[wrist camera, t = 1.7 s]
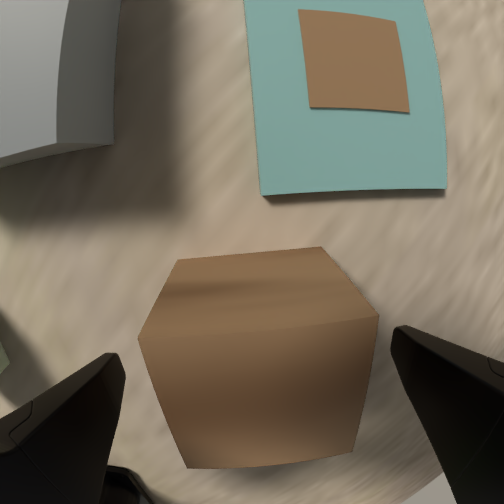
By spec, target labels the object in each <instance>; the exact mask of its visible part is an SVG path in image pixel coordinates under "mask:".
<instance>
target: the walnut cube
mask: <svg viewBox="0 0 504 504" xmlns="http://www.w3.org/2000/svg"><path fill="white" fill-rule="evenodd" d="M378 319H379V314H378V313H377V312H376V311H375V310H374V308H373V307H372V306H371V305H370V303H369V302H368V301H367V300H366V299H365V297H364V296H363V295H362V294H361V293H360V291H359V290H358V289H357V288H356V287H355V285H354V284H353V283H352V282H351V281H350V280H349V278H348V277H347V276H346V275H345V274H344V272H343V271H342V270H341V269H340V268H339V267H338V265H337V264H336V263H335V262H334V261H333V260H332V259H331V257H330V256H329V255H328V254H327V253H326V252H325V251H324V249H323V248H322V247H312V248H301V249H290V250H279V251H268V252H257V253H246V254H235V255H224V256H213V257H202V258H191V259H180V260H177V262H176V264H175V266H174V268H173V269H172V271H171V273H170V275H169V277H168V279H167V281H166V283H165V285H164V286H163V288H162V290H161V292H160V294H159V296H158V298H157V300H156V302H155V304H154V306H153V308H152V310H151V312H150V314H149V316H148V318H147V320H146V322H145V324H144V326H143V328H142V330H141V332H140V334H139V336H138V341H139V345H140V348H141V351H142V354H143V357H144V360H145V364H146V367H147V370H148V372H149V375H150V378H151V381H152V384H153V387H154V390H155V392H156V395H157V398H158V400H159V403H160V406H161V408H162V411H163V413H164V416H165V419H166V421H167V423H168V426H169V428H170V431H171V433H172V436H173V438H174V440H175V443H176V445H177V447H178V449H179V452H180V454H181V456H182V458H183V460H184V462H185V465H186V467H187V468H192V469H219V468H244V467H258V466H269V465H279V464H287V463H295V462H302V461H308V460H314V459H320V458H325V457H331V456H336V455H340V454H345V453H349V452H352V451H353V447H354V443H355V440H356V436H357V432H358V428H359V424H360V420H361V415H362V411H363V407H364V402H365V397H366V393H367V388H368V383H369V377H370V372H371V366H372V360H373V354H374V348H375V341H376V335H377V327H378Z"/></svg>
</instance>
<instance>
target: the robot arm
mask: <svg viewBox="0 0 504 504" xmlns="http://www.w3.org/2000/svg"><path fill="white" fill-rule="evenodd" d="M390 350H391V355H392V358H393V360H394V363H395V365H396V368H397V371H398V373H399V376H400V379H401V381H402V384H403V386H404V389H405V391H406V393H407V395H408V397H409V399H410V401H411V403H412V405H413V407H414V409H415V411H416V413H417V415H418V417H419V419H420V421H421V423H422V425H423V427H424V429H425V431H426V434H427V436H428V438H429V440H430V442H431V444H432V446H433V449H434V451H435V453H436V455H437V457H438V460H439V462H440V464H441V466H442V469H443V471H444V473H445V476H446V478H447V480H448V483H449V485H450V487H451V490H452V492H453V495H454V498H455V500H456V503H457V504H504V363H503V362H500V361H497V360H495V359H492V358H490V357H486V356H484V355H482V354H479V353H476V352H474V351H471V350H469V349H466V348H464V347H461V346H458V345H456V344H453V343H451V342H448V341H446V340H443V339H440V338H438V337H435V336H433V335H430V334H428V333H425V332H423V331H420V330H417V329H415V328H412V327H410V326H407V325H403V326H398V327H396V328H395V329H394V331H393V336H392V342H391V348H390ZM125 380H126V375H125V371H124V368H123V365H122V363H121V360H120V357H119V355H118V354H117V353H105V354H103V355H101V356H100V357H98V358H97V359H95V360H94V361H92V362H91V363H89V364H87V365H86V366H84V367H83V368H81V369H80V370H78V371H77V372H75V373H73V374H72V375H70V376H69V377H67V378H66V379H64V380H62V381H61V382H59V383H58V384H56V385H55V386H53V387H52V388H50V389H48V390H47V391H45V392H44V393H42V394H41V395H39V396H37V397H36V398H34V399H33V401H32V400H31V401H30V402H28V403H26V404H25V405H23V406H22V407H20V408H18V409H17V410H15V411H13V412H12V413H10V414H8V415H6V416H4V417H2V418H0V504H153V503H152V501H151V500H150V499H149V498H148V496H147V495H146V494H145V492H144V491H143V490H142V489H141V487H140V486H139V485H138V483H137V482H136V481H135V479H134V478H133V476H132V475H131V474H130V473H129V472H128V471H127V470H125V469H122V468H116V467H109V466H107V463H108V459H109V455H110V451H111V447H112V443H113V439H114V435H115V431H116V428H117V424H118V420H119V416H120V410H121V404H122V398H123V392H124V386H125Z"/></svg>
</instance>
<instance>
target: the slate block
mask: <svg viewBox="0 0 504 504" xmlns="http://www.w3.org/2000/svg"><path fill="white" fill-rule="evenodd" d="M121 1H122V0H0V168H2V167H6V166H9V165H13V164H17V163H21V162H25V161H29V160H33V159H38V158H42V157H46V156H51V155H56V154H61V153H66V152H71V151H76V150H82V149H87V148H93V147H99V146H106V145H112V144H114V79H115V59H116V46H117V34H118V25H119V16H120V8H121Z"/></svg>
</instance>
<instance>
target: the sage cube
mask: <svg viewBox="0 0 504 504" xmlns="http://www.w3.org/2000/svg"><path fill="white" fill-rule="evenodd" d="M9 363H10V361H9V359H8V357H7V355H6V353H5V351H4V348H3V346H2V344H1V342H0V374H1V373H2V371H3V370H4V369H5V368H6V367H7V366H8V364H9Z"/></svg>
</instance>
